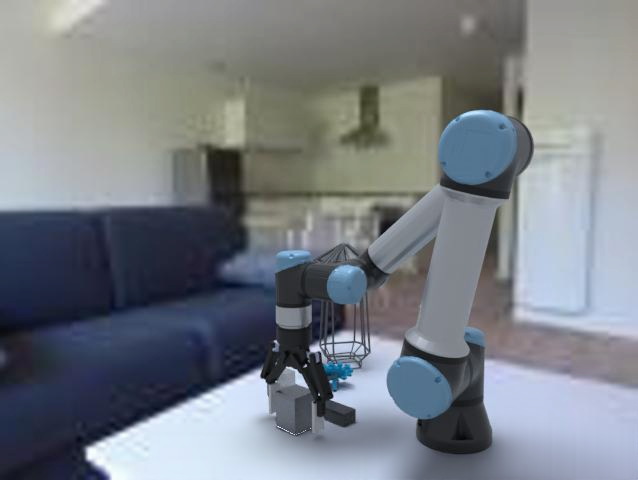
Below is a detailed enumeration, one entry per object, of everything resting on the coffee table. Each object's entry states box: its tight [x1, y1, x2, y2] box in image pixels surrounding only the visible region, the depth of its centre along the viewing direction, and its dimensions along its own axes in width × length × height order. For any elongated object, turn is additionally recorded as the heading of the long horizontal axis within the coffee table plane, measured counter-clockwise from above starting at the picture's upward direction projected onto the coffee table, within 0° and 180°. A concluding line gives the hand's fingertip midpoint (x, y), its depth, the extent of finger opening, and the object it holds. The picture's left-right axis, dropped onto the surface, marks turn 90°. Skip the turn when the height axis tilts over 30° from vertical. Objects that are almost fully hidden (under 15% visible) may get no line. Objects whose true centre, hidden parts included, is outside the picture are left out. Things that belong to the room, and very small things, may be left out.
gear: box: [323, 361, 354, 391], centre depth 145 cm, size 11×6×10 cm
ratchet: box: [276, 367, 357, 428], centre depth 132 cm, size 24×6×7 cm, turn 45°
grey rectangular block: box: [275, 383, 314, 435], centre depth 122 cm, size 6×6×8 cm
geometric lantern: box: [312, 242, 372, 370], centre depth 160 cm, size 16×16×35 cm
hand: (295, 420), depth 122 cm, fingers open, 13 cm apart
